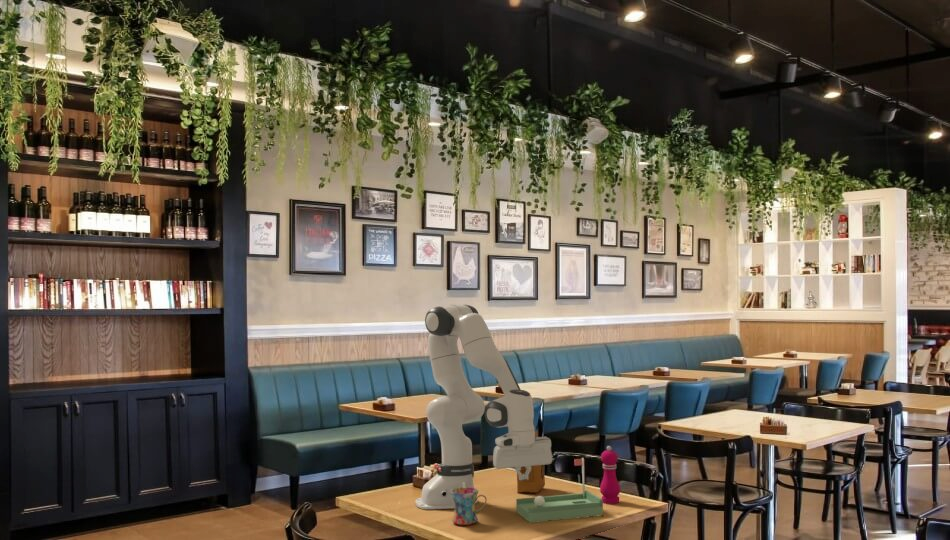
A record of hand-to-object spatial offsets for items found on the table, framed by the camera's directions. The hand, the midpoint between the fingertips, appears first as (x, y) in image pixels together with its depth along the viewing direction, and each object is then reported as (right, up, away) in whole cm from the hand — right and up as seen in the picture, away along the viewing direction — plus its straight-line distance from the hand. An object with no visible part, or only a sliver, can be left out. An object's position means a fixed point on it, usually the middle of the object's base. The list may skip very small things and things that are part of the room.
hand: (523, 479), depth 274 cm
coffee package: (+5, -14, +38) cm, 41 cm away
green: (+12, -13, +3) cm, 18 cm away
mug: (-18, -13, -6) cm, 23 cm away
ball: (+5, -8, +2) cm, 10 cm away
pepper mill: (+32, -13, +18) cm, 39 cm away
